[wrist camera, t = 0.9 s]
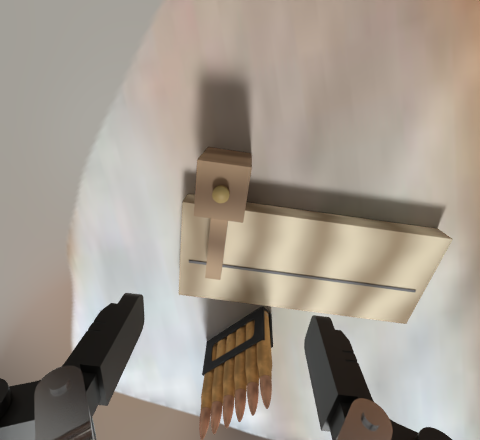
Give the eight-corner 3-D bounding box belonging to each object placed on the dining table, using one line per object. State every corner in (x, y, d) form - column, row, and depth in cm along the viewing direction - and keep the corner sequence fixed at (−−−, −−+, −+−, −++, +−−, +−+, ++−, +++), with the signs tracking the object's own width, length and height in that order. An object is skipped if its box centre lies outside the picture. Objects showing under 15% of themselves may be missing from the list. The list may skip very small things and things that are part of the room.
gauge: (208, 147, 26) (195, 161, 20) (251, 153, 26) (251, 169, 21) (199, 251, 32) (188, 287, 26) (235, 256, 32) (232, 293, 26)
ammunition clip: (262, 305, 35) (268, 399, 24) (271, 313, 35) (281, 409, 25) (206, 342, 38) (189, 439, 27) (215, 348, 39) (201, 446, 28)
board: (183, 281, 34) (178, 295, 31) (187, 194, 29) (182, 202, 26) (396, 309, 34) (406, 324, 32) (437, 228, 29) (453, 239, 27)
